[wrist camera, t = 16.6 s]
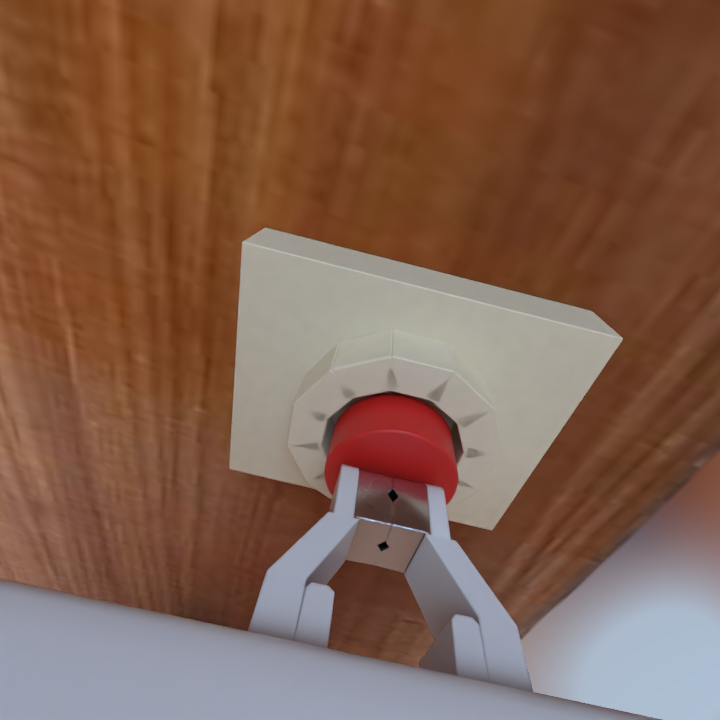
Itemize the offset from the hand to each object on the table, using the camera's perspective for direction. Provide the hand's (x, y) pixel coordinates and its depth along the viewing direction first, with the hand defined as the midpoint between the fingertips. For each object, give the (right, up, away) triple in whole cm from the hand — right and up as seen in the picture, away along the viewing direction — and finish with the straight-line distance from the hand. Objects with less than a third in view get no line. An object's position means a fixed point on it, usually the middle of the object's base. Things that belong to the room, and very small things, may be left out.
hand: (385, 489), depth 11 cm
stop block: (+1, +3, +5) cm, 6 cm away
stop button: (0, +1, +2) cm, 2 cm away
